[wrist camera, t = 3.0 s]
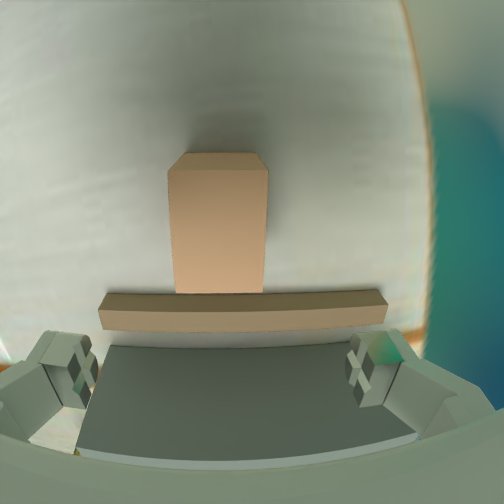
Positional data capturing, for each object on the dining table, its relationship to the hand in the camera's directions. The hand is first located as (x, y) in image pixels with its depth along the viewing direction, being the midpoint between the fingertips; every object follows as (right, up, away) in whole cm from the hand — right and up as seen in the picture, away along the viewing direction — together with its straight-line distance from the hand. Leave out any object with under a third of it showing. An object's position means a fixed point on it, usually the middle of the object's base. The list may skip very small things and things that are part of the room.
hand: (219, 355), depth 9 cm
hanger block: (-1, +7, +14) cm, 16 cm away
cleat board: (0, -4, +19) cm, 20 cm away
